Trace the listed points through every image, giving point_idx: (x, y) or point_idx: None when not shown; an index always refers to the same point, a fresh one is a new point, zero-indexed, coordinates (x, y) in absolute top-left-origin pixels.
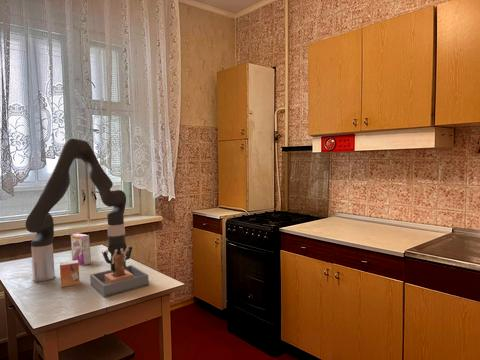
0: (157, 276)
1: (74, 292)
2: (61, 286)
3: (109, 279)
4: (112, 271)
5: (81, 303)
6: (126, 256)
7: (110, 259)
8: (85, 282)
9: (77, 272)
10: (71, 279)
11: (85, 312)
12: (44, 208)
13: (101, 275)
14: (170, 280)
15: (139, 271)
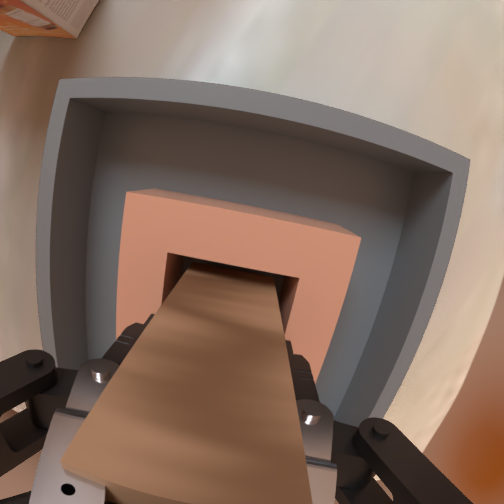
0: (460, 341)
1: (6, 162)
2: (12, 34)
3: (120, 334)
4: (263, 117)
5: (6, 336)
6: (358, 471)
7: (70, 397)
8: (113, 28)
9: (25, 8)
10: (25, 24)
11: (19, 410)
12: None
13: (151, 105)
14: (429, 429)
15: (384, 385)
